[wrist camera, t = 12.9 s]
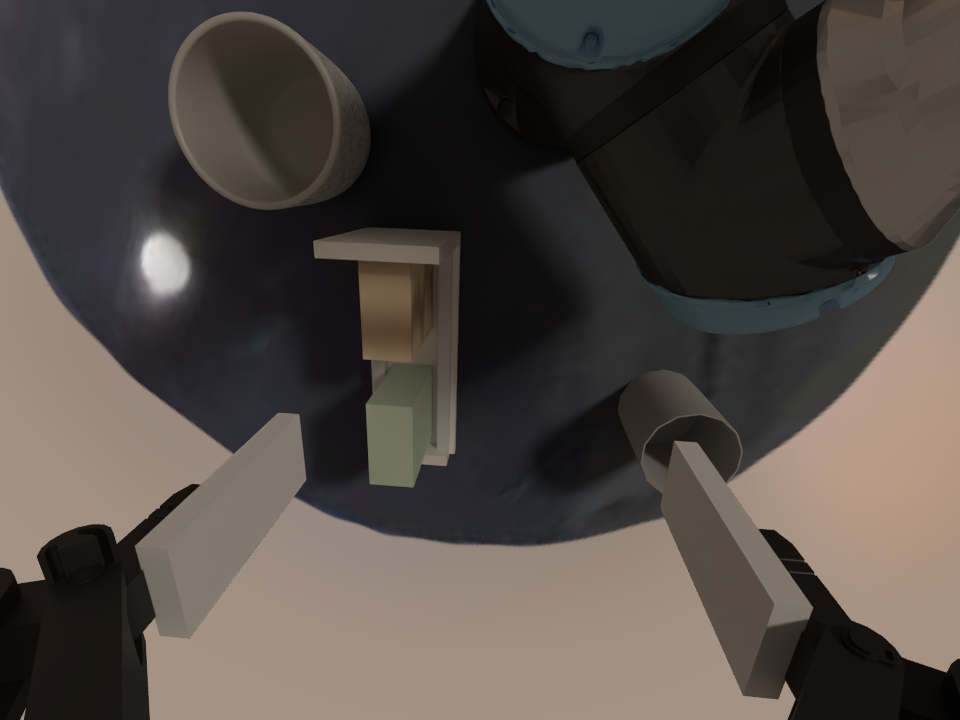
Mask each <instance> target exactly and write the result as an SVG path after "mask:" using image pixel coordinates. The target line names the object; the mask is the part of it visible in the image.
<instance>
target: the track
mask: <svg viewBox="0 0 960 720" xmlns="http://www.w3.org/2000/svg"><path fill="white" fill-rule="evenodd" d="M460 238H461V232H460V231H439V230H418V229H397V228H376V227H367V228H363V229H359V230H355V231H351V232H347V233H343V234H339V235H335V236H331V237H327V238H323V239H319V240H315V241H313V245H314V257H315V258H324V259H343V260H362V261H381V262H401V263H420V264H433V328H432V330H431V332H430V333H429V335H428V336H427V338H426V340H425V341H424V343H423V344H422V346H421V348H420V349H419V351H418V353H417V354H416V356H415V357H414V359H413V361H412V362H398V361H383V360H371V366H372V388H373V393H374V392H375V390H376V389H377V388H378V386H379V385H380V383H381V382H382V381H383V379H384V378H385V376H386V375H387V374H388V372H389V371H390V369H391V368H392V366H393V365H394V364H395V363H403V364H419V365H433V429H432V436H431V439H430V442H429V444H428V447H427V450H426V453H425V456H424V459H423V461H422V464H426V465H439V466H446V465H447V461H448V457H449V454H454V453H455V445H456V404H457V362H458V321H459V280H460Z"/></svg>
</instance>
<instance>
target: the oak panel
mask: <svg viewBox="0 0 960 720" xmlns="http://www.w3.org/2000/svg"><path fill="white" fill-rule="evenodd" d="M358 270H359V290H360V309H361V329H362V348H363V359H367V360H383V361H398V362H412V361H413V359H414V357H415V356H416V354H417V353H418V351H419V349H420V348H421V346H422V344H423V343H424V341H425V340H426V338H427V336H428V335H429V333H430V332H431V330H432V328H433V264H420V263H401V262H381V261H362V260H358Z"/></svg>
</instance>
